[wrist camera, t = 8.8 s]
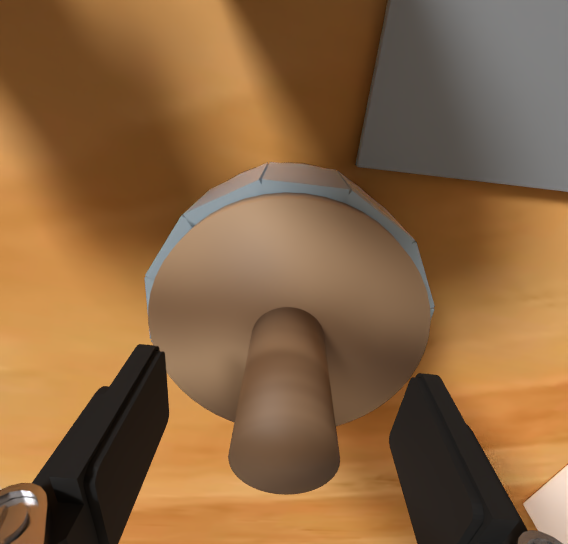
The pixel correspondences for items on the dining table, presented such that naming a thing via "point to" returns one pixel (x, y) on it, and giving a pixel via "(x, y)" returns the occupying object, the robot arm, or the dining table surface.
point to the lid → (289, 328)
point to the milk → (551, 507)
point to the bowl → (290, 181)
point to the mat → (471, 92)
